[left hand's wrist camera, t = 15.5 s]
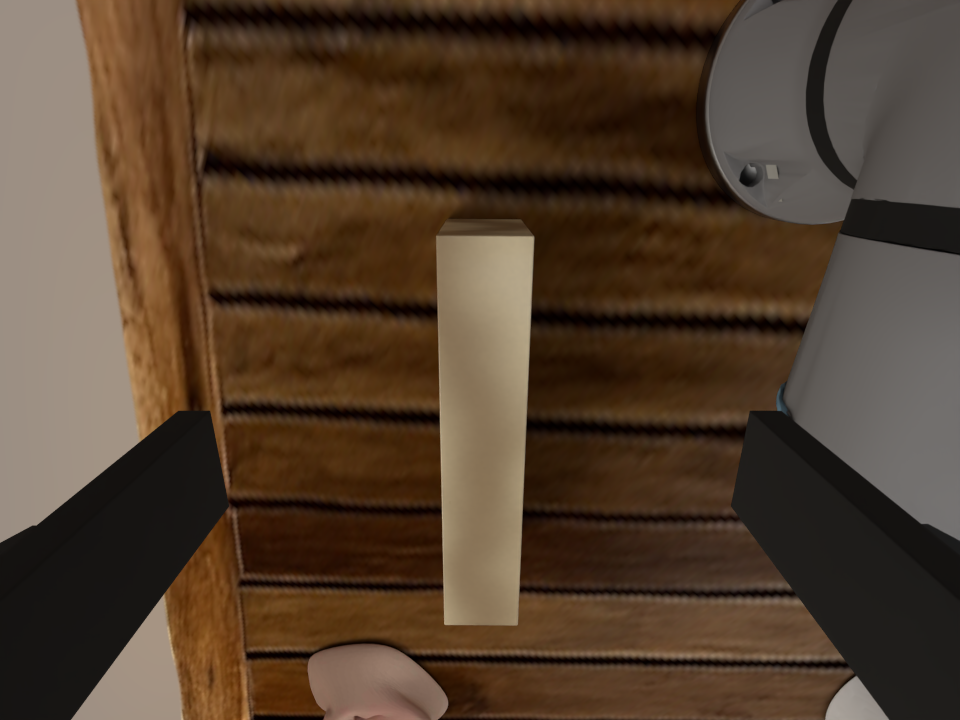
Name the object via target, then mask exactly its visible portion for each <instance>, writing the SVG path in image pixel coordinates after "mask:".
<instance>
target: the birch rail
mask: <svg viewBox="0 0 960 720" xmlns="http://www.w3.org/2000/svg"><path fill="white" fill-rule="evenodd" d="M436 253H437V300H438V347H439V394H440V440H441V487H442V534H443V580H444V624H445V625H518V608H519V585H520V561H521V538H522V515H523V491H524V468H525V445H526V421H527V398H528V375H529V352H530V328H531V305H532V282H533V258H534V236H533V234H532V233H531V232H530V230H529V229H528V228H527V227H526V225H525V224H524V223H523V221H522V220H521V219H447V220H446V221H445V223H444V225H443V226H442V228H441V229H440V231H439V232H438V234H437V236H436Z"/></svg>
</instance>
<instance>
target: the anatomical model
mask: <svg viewBox="0 0 960 720" xmlns="http://www.w3.org/2000/svg"><path fill="white" fill-rule="evenodd" d="M308 675H309V681H310V687H311V690H312V692H313V695H314V697H315V700H316V702H317V703H318V705H319V706H320V707H321V708H322V709H323V710H325V711H326V714H325V717H324V720H438V719H439V718H440V717H441V716H442V715H443V714H444V713H445V711H446V709H447V707H448V699H447V697H446V695H445V693H444V691H443V690H442V689H441V687H440V686H439V685H438V684H437V683H436V682H435V680H434V679H433V678H432V677H431V676H430V675H429V674H428V673H427V672H426V671H425V670H423V669H422V668H421V667H420V666H419V665H418V664H417V663H416V662H414V661H413V660H412V659H410V658H409V657H408V656H406V655H405V654H403V653H402V652H400V651H398V650H396V649H394V648H391V647H388V646H385V645H380V644H352V645H344V646H339V647H333V648H329V649H326V650H322V651H319V652H317V653H315V654H314V655H313V656H311V658H310V659H309V662H308Z"/></svg>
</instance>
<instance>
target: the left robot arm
mask: <svg viewBox="0 0 960 720" xmlns="http://www.w3.org/2000/svg"><path fill="white" fill-rule="evenodd" d="M696 121H697V131H698V138H699V143H700V147H701V150H702V154H703V157H704V159H705V162H706V164H707V166H708V169H709V170H710V172H711V174H712V176H713V178H714V179H715V180H716V182H717V183H718V185H719V186H720V187H721V188H722V189H723V191H724V192H725V193H726V194H727V195H728V196H729V197H730V198H732V199H733V200H734V201H735V202H736V203H738V204H739V205H741V206H742V207H743V208H745V209H747V210H749V211H751V212H753V213H755V214H758V215H760V216H763V217H766V218H770V219H773V220H779V221H784V222H790V223H797V224H825V223H832V222H837V221H841V220H844V222H843V225H842V227H841V230H840V232H839V233H838V236H837V239H836V242H835V246H834V249H833V252H832V255H831V258H830V261H829V264H828V267H827V270H826V273H825V276H824V279H823V281H822V284H821V287H820V290H819V293H818V295H817V298H816V301H815V304H814V307H813V310H812V312H811V315H810V318H809V321H808V324H807V327H806V329H805V332H804V335H803V338H802V341H801V344H800V346H799V349H798V352H797V355H796V358H795V361H794V363H793V366H792V369H791V372H790V375H789V378H788V380H787V381H786V382H785V383H784V384H781V387H780V389H779V391H778V394H777V400H776V405H777V410H778V411H750V413H749V418H748V423H747V428H746V433H745V438H744V443H743V448H742V453H741V458H740V463H739V468H738V473H737V479H736V484H735V489H734V494H733V499H732V504H731V507H732V508H733V510H734V511H735V512H736V514H737V515H738V516H739V518H740V519H741V520H742V522H743V523H744V524H745V526H746V527H747V528H748V530H749V531H750V533H751V534H752V535H753V537H754V538H755V539H756V541H757V542H758V543H759V545H760V546H761V547H762V549H763V550H764V551H765V553H766V554H767V555H768V557H769V558H770V560H771V561H772V562H773V564H774V565H775V566H776V568H777V569H778V570H779V572H780V573H781V574H782V576H783V577H784V578H785V580H786V581H787V582H788V584H789V585H790V587H791V588H792V589H793V591H794V592H795V593H796V595H797V596H798V597H799V599H800V600H801V601H802V603H803V604H804V605H805V607H806V608H807V610H808V611H809V612H810V614H811V615H812V616H813V618H814V619H815V620H816V622H817V623H818V624H819V626H820V627H821V628H822V630H823V631H824V632H825V634H826V635H827V637H828V638H829V639H830V641H831V642H832V643H833V645H834V646H835V647H836V649H837V650H838V651H839V653H840V654H841V655H842V657H843V658H844V659H845V661H846V662H847V664H848V665H849V666H850V668H851V669H852V670H853V672H854V673H855V674H856V676H857V677H858V678H859V680H860V681H861V682H862V684H863V685H864V686H865V688H866V689H867V691H868V692H869V693H870V695H871V696H872V697H873V699H874V700H875V701H876V703H877V704H878V705H879V707H880V708H881V709H882V711H883V712H884V714H885V715H886V716H887V718H888V719H889V720H960V0H740V1H739V3H738V4H737V5H736V7H735V8H734V9H733V10H732V12H731V13H730V14H729V16H728V17H727V19H726V20H725V22H724V24H723V25H722V27H721V28H720V30H719V32H718V34H717V36H716V38H715V39H714V42H713V44H712V46H711V48H710V51H709V53H708V56H707V58H706V61H705V64H704V67H703V71H702V75H701V78H700V83H699V89H698V95H697V107H696ZM228 507H229V504H228V499H227V494H226V489H225V484H224V479H223V474H222V468H221V463H220V458H219V453H218V448H217V443H216V438H215V433H214V428H213V423H212V418H211V413H210V411H178V412H176V413H175V414H174V415H173V416H172V417H170V418H169V419H168V420H167V421H165V422H164V423H163V424H162V425H160V426H159V427H158V428H157V429H155V430H154V431H153V432H152V433H151V434H149V435H148V436H147V437H146V438H144V439H143V440H142V441H141V442H139V443H138V444H137V445H136V446H135V447H133V448H132V449H131V450H130V451H128V452H127V453H126V454H125V455H123V456H122V457H121V458H120V459H118V460H117V461H116V462H115V463H113V464H112V465H111V466H110V467H108V468H107V469H106V470H105V471H104V472H102V473H101V474H100V475H99V476H97V477H96V478H95V479H94V480H92V481H91V482H90V483H89V484H87V485H86V486H85V487H84V488H82V489H81V490H80V491H79V492H78V493H76V494H75V495H74V496H73V497H71V498H70V499H69V500H68V501H66V502H65V503H64V504H63V505H61V506H60V507H59V508H58V509H57V510H55V511H54V512H53V513H52V514H50V515H49V516H48V517H47V518H45V519H44V520H43V521H42V522H40V523H39V524H38V525H37V526H31V527H29V528H27V529H25V530H23V531H22V532H20V533H18V534H16V535H14V536H12V537H10V538H8V539H7V540H5V541H3V542H1V543H0V720H71V719H72V718H73V716H74V715H75V714H76V712H77V711H78V709H79V708H80V707H81V705H82V704H83V703H84V701H85V700H86V699H87V697H88V696H89V695H90V693H91V692H92V691H93V689H94V688H95V686H96V685H97V684H98V682H99V681H100V680H101V678H102V677H103V676H104V674H105V673H106V672H107V670H108V669H109V668H110V666H111V665H112V664H113V662H114V661H115V659H116V658H117V657H118V655H119V654H120V653H121V651H122V650H123V649H124V647H125V646H126V645H127V643H128V642H129V641H130V639H131V638H132V637H133V635H134V634H135V632H136V631H137V630H138V628H139V627H140V626H141V624H142V623H143V622H144V620H145V619H146V618H147V616H148V615H149V614H150V612H151V611H152V609H153V608H154V607H155V605H156V604H157V603H158V601H159V600H160V599H161V597H162V596H163V595H164V593H165V592H166V591H167V589H168V588H169V587H170V585H171V584H172V582H173V581H174V580H175V578H176V577H177V576H178V574H179V573H180V572H181V570H182V569H183V568H184V566H185V565H186V564H187V562H188V561H189V560H190V558H191V557H192V555H193V554H194V553H195V551H196V550H197V549H198V547H199V546H200V545H201V543H202V542H203V541H204V539H205V538H206V537H207V535H208V534H209V533H210V531H211V530H212V528H213V527H214V526H215V524H216V523H217V522H218V520H219V519H220V518H221V516H222V515H223V514H224V512H225V511H226V510H227V508H228Z"/></svg>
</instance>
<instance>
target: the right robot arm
mask: <svg viewBox="0 0 960 720" xmlns="http://www.w3.org/2000/svg"><path fill="white" fill-rule="evenodd" d="M825 720H889V719H888V718H887V716H886V715H885V714H884V712H883V711H882V709H881V708H880V707H879V705H878V704H877V703H876V701H875V700H874V699H873V697H872V696H871V695H870V693H869V692H868V691H867V689H866V688H865V686H864V685H863V684H862V682H861V681H860V680H859V678H858V677H857V676H856V677H854V678H853V679H851V680H850V681H849V682H848V683H847V684H845V685H844V686H843V687H842V688H841V689H840V690H839V691H838V693H837V694H836V695H835V696H834V698H833V699H832V701H831V703H830V705H829V707H828V710H827V713H826V718H825Z"/></svg>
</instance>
